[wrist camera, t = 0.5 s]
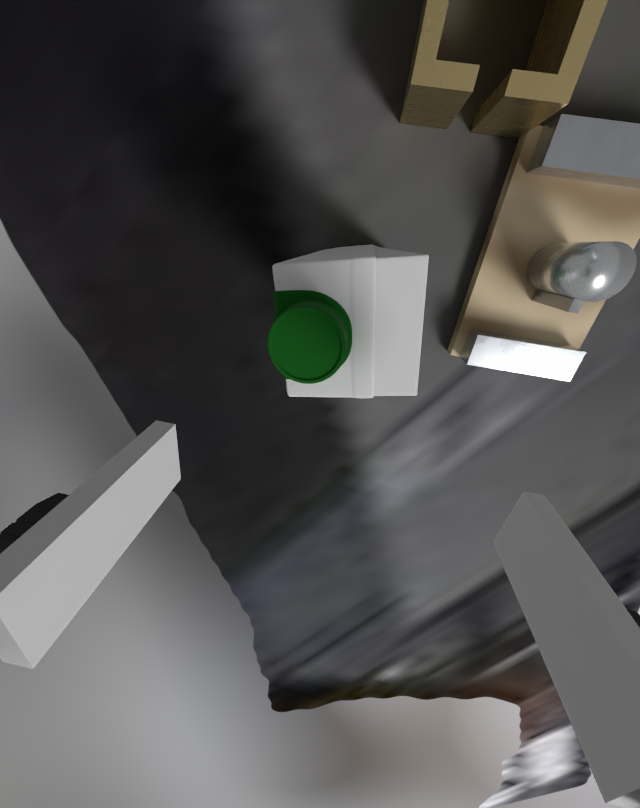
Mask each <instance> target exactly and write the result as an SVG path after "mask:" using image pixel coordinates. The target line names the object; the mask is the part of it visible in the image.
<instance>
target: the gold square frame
mask: <svg viewBox="0 0 640 808" xmlns="http://www.w3.org/2000/svg"><path fill="white" fill-rule="evenodd" d="M607 1H608V0H547V3H546V6H545V9H544V13H543V16H542V19H541V22H540V25H539V28H538V31H537V34H536V38H535V41H534V44H533V47H532V50H531V53H530V56H529V59H528V63H527V66H526V69H525V70H517V69H512V70H511V72H510V73H509V74H508V75H507V76H506V78H505V79H504V80H503V81H502V82H501V83H500V85H499V86H498V87H497V88H496V89H495V91H494V92H493V93H492V94H491V95H490V97H489V98H488V99H487V100H486V101H485V103H484V104H483V105H482V106H481V107H480V109H479V110H478V111H477V112H476V115H475V118H474V122H473V126H472V129H471V132H473V133H480V134H488V135H496V136H503V137H511V138H518V139H519V138H521V137H522V136H523V135H525V134H526V133H528V132H529V131H530V130H532V129H533V128H535V127H536V126H538V125H539V124H540V123H542V122H543V121H545V120H546V119H548V118H549V117H550V116H552V115H553V114H555V113H556V112H558V111H559V110H560V109H562V108H563V107H565V106H566V105H568V104H569V101H570V98H571V96H572V93H573V90H574V88H575V85H576V83H577V80H578V77H579V75H580V72H581V70H582V67H583V64H584V62H585V59H586V56H587V54H588V51H589V49H590V46H591V43H592V41H593V38H594V35H595V33H596V30H597V28H598V25H599V22H600V20H601V17H602V14H603V12H604V9H605V7H606V4H607ZM448 3H449V0H423V5H422V10H421V15H420V20H419V25H418V30H417V36H416V41H415V46H414V51H413V56H412V61H411V66H410V72H409V77H408V82H407V87H406V92H405V97H404V102H403V107H402V113H401V118H400V123H404V124H412V125H420V126H427V127H435V128H442V129H447V128H448V127H449V125H450V124H451V122H452V121H453V119H454V118H455V117H456V115H457V114H458V112H459V111H460V110H461V108H462V107H463V105H464V104H465V102H466V101H467V100H468V98H469V97H470V95H471V94H472V92H473V90H474V86H475V82H476V78H477V75H478V71H479V67H480V65H476V64H467V63H459V62H451V61H442V60H436V57H437V53H438V48H439V44H440V39H441V35H442V30H443V25H444V21H445V16H446V12H447V7H448Z"/></svg>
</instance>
